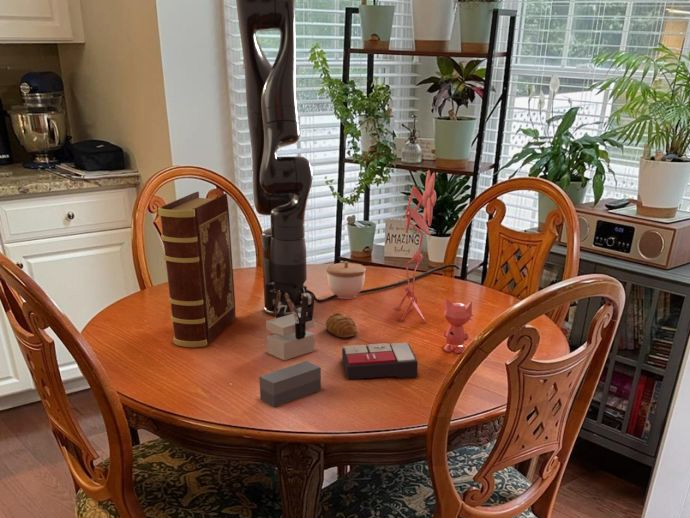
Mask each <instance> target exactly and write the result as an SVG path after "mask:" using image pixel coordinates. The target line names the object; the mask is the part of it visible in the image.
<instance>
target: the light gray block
mask: <svg viewBox="0 0 690 518" xmlns="http://www.w3.org/2000/svg"><path fill="white" fill-rule="evenodd" d="M315 341H316V339H315V333H312V332H310V331H307V330H306V335H305V337H304V338H303V339H299V340H298V339H296V337H295V333H293V334H290V335H287V336H281V335H279V334H277V333H274V334H273V333H272V334H269V335H267V336H266V350H267V354H269V355H271V356H274V357H275V358H277V359H279V360H282V361H286V360H290V359H293V358H296V357H299V356H302V355H306V354H309V353H313V352H315V350H316V349H315V348H316V346H315V343H316V342H315Z"/></svg>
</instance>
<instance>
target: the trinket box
mask: <svg viewBox="0 0 690 518" xmlns="http://www.w3.org/2000/svg"><path fill="white" fill-rule="evenodd" d="M326 279H327V285H328V289H329V290H330V292H331V293H332V294H333V295H337V296H338V297H336V298H337V299H341V300H350V299H351V300H352V299H355V298H357V297H358V295H360V294H359V293H360V291H362V290H363V288H364V286H365V280H366V266H364V265H361V264H359V263H353V262H349V261H348V260H347V261H344V262H338V263H333V264H332V263H331V264H329V265H327V267H326Z"/></svg>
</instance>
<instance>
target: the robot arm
mask: <svg viewBox="0 0 690 518" xmlns="http://www.w3.org/2000/svg"><path fill="white" fill-rule="evenodd" d="M235 4H236V13H237V21H238V27H239V34H240V41H241V43H240V44H241V51H242V58H243V66H244V83H245V101H246V112H247V113H246V115H247V124H248V130H249V139H250V149H251V167H252V198H253V204H254V208H255V211H256V212H257V214H258V215H261V216H269V218H270V227H269V228H267V229H264V230H263V231H262V233H261V236H260V238H261V257H262V258H261V259H262V260H261V261H262V279H263V282H262V283H263V298H264V299H263V300H264V301H263V302H264V303H263V304H264V307H263V309H264V313H266V314H268V315H270V316H275V318H279V317H283V316H286V315H290V314H293V315H294V318H295V322H296V323H295V329H296V333H295V337H296V339H298V340H299V339H303V338H304V337H305V335H306V331H307V330H306V322H308V321H311V320H312V319H314V307H315V302H316V303H324V302H328V301H330V300H333V299H335V298H337V297H338V296H337V295H335V294H333V295H331V296H328V297H326V298H324V299H319V298H317V296H316V295H315V294H314V292H313V291H311V290H308V288H307V287H308V286H307V285H304V284H305V282H306V281H307V278H308V277H307V272H308V271H307V245H306V237H305V236H306V233H305V231H306V230H305V229H306V227H305V223H306V222H305V218H306V209H307V204H308V199H309V196H310V192H311V188H312V185H313V178H314V172H313V171H314V170H313V167H312V164H311V162H310V161H309V160H308V158H306V157H304V156H301V155H299V156H298V155H297V156H278V155H277V152H278V150H279V149H282V148H285V147H289V146H292V145H294V144H297V142H298V141H299V139H300V125H299V123H300V121H299V113H298V112H299V111H298V103H297V91H296V90H297V89H296V88H297V87H296V85H297V84H296V80H297V79H296V77H297V76H296V74H297V27H296V26H297V23H296V21H297V20H296V19H297V18H296V0H235ZM257 32H280V33H279V36H280V37H279V48H278V50H277V54H276V57H275V59H274V62H273V64H272V65H271V63H270V61H269V60H268V58H267V56H266V54H265V53H264V51H263V49H262V46H261V44H260V43H259V39H258V36H257ZM447 268H455V269H457V270H461V268H460V267H459V265H457V264H456V263H455V264H454V263H449V264H446V265H443V266H440V267H435V268H432V269H430V270H427V271H425V272H422V273H420V274H417V275H415V280H417V279H419V278H422V277H424V276H427V275H428V274H429V275H430V274H431V273H433V272H438V271H442V270H444V269H447ZM411 281H413V276H412V277H409V282H411ZM405 283H408V279H407V278H406V279H404V280H401V281H398V282H394V283H391V284H387V285H382V286H379V287H374V288H373V287H372V288H368V289H362V290H361V291H360V293H359V294H358V295H361V294H367V293H371V292H376V291H382V290H386V289H389V288H393V287H396V286H399V285H404V284H405ZM298 313H300V314H301V317H299V314H298Z"/></svg>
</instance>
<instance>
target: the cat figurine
mask: <svg viewBox="0 0 690 518" xmlns="http://www.w3.org/2000/svg"><path fill="white" fill-rule="evenodd" d="M472 308H473V301H470V302H468V303H466V304H464V303H462V302H454V303H452V302H451V301H450V300H449V298H445V300H444V305H443V315H444V318H445V319H446V322H448V323H449V326H448V328H447V329H446V330H444V334H443V336H444V337H445V344H446V345H444V347H443V349H444V351H446V352H448V353H451V352H453V350H454V353H455V354H460V353H464V352H463V350H464V349H465V347H464V346H463V345H464V344H465V341H467V340H468V339H469V333H468V332H467V331H466V332H465V329H464V325H466V324H467V323H468V322H469V321H472V322H474V321H473V319H471V318H472V317H474V315H473V312H472V311H473V309H472ZM453 346H456V347H455V349H453Z"/></svg>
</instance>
